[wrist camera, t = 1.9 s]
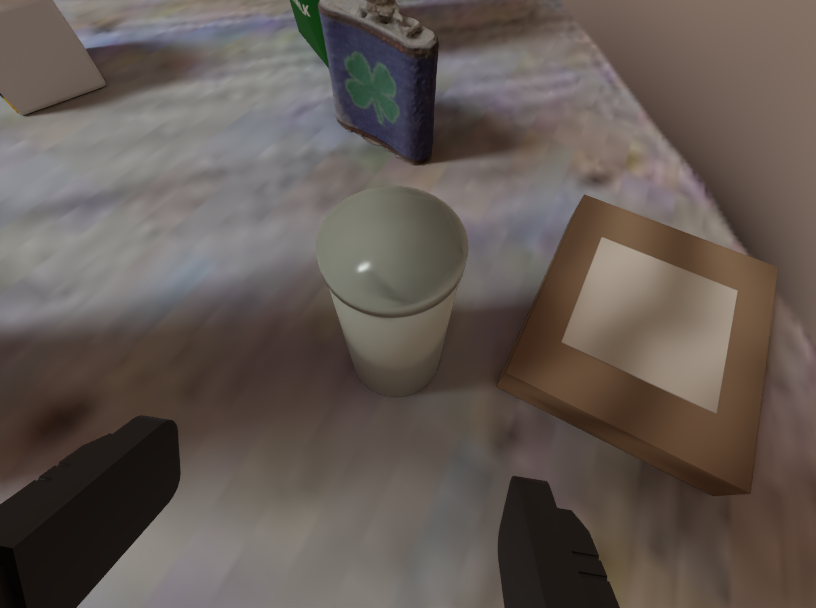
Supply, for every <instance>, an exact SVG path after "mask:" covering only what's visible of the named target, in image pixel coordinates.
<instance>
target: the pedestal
mask: <svg viewBox="0 0 816 608" xmlns="http://www.w3.org/2000/svg"><path fill="white" fill-rule="evenodd" d="M777 273H778V267H775V266H773V265H770V264H767V263H765V262H762V261H760V260H757V259H754V258H752V257H749V256H746V255H744V254H741V253H738V252H736V251H733V250H730V249H728V248H725V247H722V246H720V245H717V244H714V243H712V242H709V241H706V240H704V239H701V238H698V237H696V236H693V235H691V234H688V233H685V232H683V231H680V230H677V229H675V228H672V227H669V226H667V225H664V224H661V223H659V222H656V221H653V220H651V219H648V218H645V217H643V216H640V215H637V214H635V213H632V212H629V211H627V210H624V209H621V208H619V207H616V206H614V205H611V204H608V203H606V202H603V201H600V200H598V199H595V198H592V197H590V196H587V195H584V196H583V197H582V199H581V201H580V203H579V204H578V206H577V208H576V210H575V212H574V213H573V215H572V217H571V219H570V221H569V223H568V225H567V228H566V230H565V232H564V234H563V237H562V239H561V241H560V243H559V246H558V248H557V250H556V252H555V255H554V257H553V259H552V261H551V264H550V266H549V268H548V270H547V273H546V275H545V277H544V279H543V282H542V284H541V286H540V288H539V291H538V293H537V295H536V297H535V300H534V302H533V304H532V306H531V309H530V311H529V313H528V315H527V317H526V320H525V322H524V324H523V326H522V329H521V331H520V333H519V335H518V338H517V340H516V342H515V344H514V347H513V349H512V351H511V353H510V356H509V358H508V360H507V362H506V365H505V367H504V369H503V371H502V374H501V376H500V378H499V380H498V383H497V385H496V387H498V388H500V389H502V390H504V391H506V392H508V393H510V394H512V395H514V396H516V397H518V398H520V399H522V400H524V401H526V402H528V403H530V404H532V405H534V406H536V407H538V408H540V409H542V410H544V411H546V412H548V413H550V414H552V415H554V416H556V417H558V418H560V419H562V420H564V421H566V422H567V423H569V424H571V425H573V426H575V427H577V428H579V429H581V430H583V431H585V432H587V433H589V434H591V435H593V436H595V437H597V438H599V439H601V440H603V441H605V442H607V443H609V444H611V445H613V446H615V447H617V448H619V449H621V450H623V451H625V452H627V453H629V454H631V455H633V456H635V457H637V458H639V459H641V460H643V461H645V462H647V463H649V464H651V465H653V466H655V467H657V468H659V469H661V470H663V471H665V472H667V473H669V474H671V475H673V476H675V477H676V478H678V479H680V480H682V481H684V482H686V483H688V484H690V485H692V486H694V487H696V488H698V489H700V490H702V491H704V492H706V493H708V494H710V495H712V496H721V495H736V494H751V486H752V478H753V470H754V461H755V453H756V445H757V437H758V429H759V420H760V412H761V404H762V396H763V388H764V379H765V371H766V363H767V355H768V347H769V338H770V330H771V322H772V314H773V305H774V297H775V289H776V281H777Z"/></svg>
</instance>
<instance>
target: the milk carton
mask: <svg viewBox="0 0 816 608" xmlns="http://www.w3.org/2000/svg"><path fill="white" fill-rule="evenodd" d="M290 3H291V6H292V9H293V12H294V16H295V19H296V22H297V26H298V29H299V32H300V33H301V34H302V36H303V37H304V38H305V39H306V41H307V42H308V43H309V44H310V46H311V47H312V48H313V49H314V50H315V52H316V53H317V54H318V55H319V57H320V58H321V59H322V60H323V62H324V63H325V64H326V65H327V67H328V68H329V63H328V57H327V51H326V46H325V39H324V35H323V28H322V24H321V18H320V14H319V9H318V3H319V0H290Z"/></svg>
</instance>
